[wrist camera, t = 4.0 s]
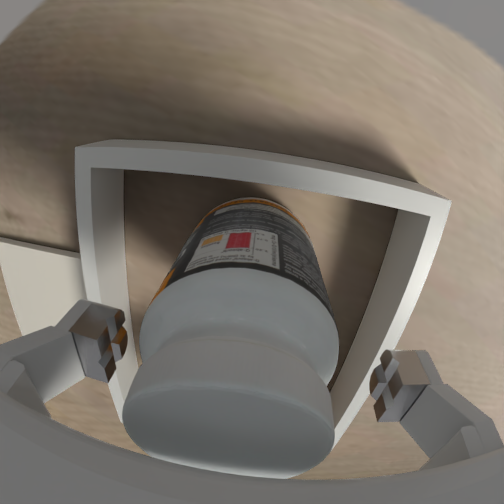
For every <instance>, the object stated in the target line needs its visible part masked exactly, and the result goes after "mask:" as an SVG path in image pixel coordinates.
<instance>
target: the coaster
mask: <svg viewBox="0 0 504 504" xmlns="http://www.w3.org/2000/svg"><path fill="white" fill-rule="evenodd" d="M0 264H1V268H2V272H3V276H4V280H5V284H6V287H7V291H8V294H9V298H10V301H11V304H12V307H13V310H14V313H15V316H16V319H17V322H18V325H19V328H20V330H21V333H22V336H25V335H27V334H30V333H33V332H35V331H38V330H40V329H43V328H46V327H48V326H54V327H55V326H56V325H57V323H58V322H59V321H60V320H61V319H62V318H63V317H64V316H65V314H66V313H67V312H68V311H69V310H70V309H71V308H72V307H73V306H74V305H75V303H76V302H77V301H78V300H80V299H85V300H87V294H86V288H85V282H84V276H83V269H82V262H81V254H80V253H76V252H71V251H66V250H61V249H56V248H51V247H46V246H41V245H36V244H31V243H26V242H21V241H16V240H12V239H7V238H2V237H0Z"/></svg>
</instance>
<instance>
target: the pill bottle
mask: <svg viewBox="0 0 504 504" xmlns="http://www.w3.org/2000/svg"><path fill="white" fill-rule="evenodd" d="M139 346H140V353H141V358H142V362H143V364H142V365H141V366H140V367H139V369H138V371H137V373H136V375H135V377H134V379H133V382H132V384H131V386H130V389H129V392H128V395H127V397H126V400H125V402H124V405H123V411H122V420H123V424H124V427H125V429H126V431H127V433H128V435H129V436H130V438H131V439H132V440H133V441H134V442H135V443H136V444H137V446H139V447H140V448H141V449H142V450H143V451H145V452H146V453H147V454H148V455H150V456H152V457H153V458H157V459H161V460H164V461H168V462H172V463H177V464H181V465H185V466H190V467H195V468H200V469H205V470H211V471H217V472H223V473H230V474H237V475H245V476H254V477H264V478H278V479H286V478H290V477H294V476H297V475H299V474H302V473H304V472H306V471H308V470H310V469H311V468H313V467H315V466H316V465H318V464H319V463H321V462H322V461H323V460H324V459H325V458H326V456H327V455H328V454H329V453H330V451H331V449H332V447H333V445H334V440H335V431H334V420H333V411H332V402H331V395H330V393H329V390H328V388H327V385H328V383H329V382H330V380H331V378H332V376H333V374H334V371H335V369H336V366H337V361H338V354H339V336H338V330H337V326H336V323H335V319H334V315H333V311H332V309H331V305H330V302H329V298H328V295H327V292H326V288H325V285H324V282H323V279H322V275H321V272H320V268H319V264H318V261H317V257H316V255H315V251H314V248H313V244H312V242H311V240H310V237H309V235H308V232H307V231H306V229H305V227H304V225H303V224H302V223H301V221H300V220H299V219H298V218H297V217H296V216H295V215H294V214H293V213H292V212H291V211H289V210H288V209H286V208H285V207H283V206H281V205H280V204H278V203H275V202H273V201H270V200H267V199H261V198H253V197H247V198H238V199H234V200H230V201H228V202H225V203H223V204H221V205H219V206H217V207H215V208H214V209H212V210H211V211H210V212H209V213H208V214H207V215H206V216H205V217H204V218H203V219H202V220H201V221H200V223H199V224H198V225H197V227H196V228H195V229H194V231H193V233H192V234H191V236H190V237H189V239H188V240H187V242H186V243H185V245H184V246H183V248H182V250H181V252H180V254H179V255H178V257H177V259H176V261H175V262H174V264H173V266H172V268H171V269H170V271H169V273H168V275H167V276H166V278H165V279H164V281H163V283H162V284H161V286H160V288H159V290H158V291H157V293H156V295H155V296H154V298H153V300H152V302H151V303H150V305H149V307H148V309H147V311H146V313H145V316H144V318H143V321H142V325H141V329H140V337H139Z"/></svg>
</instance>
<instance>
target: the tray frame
mask: <svg viewBox="0 0 504 504" xmlns="http://www.w3.org/2000/svg"><path fill="white" fill-rule="evenodd" d="M124 169H129V170H143V171H156V172H167V173H178V174H188V175H198V176H207V177H216V178H224V179H232V180H240V181H247V182H254V183H261V184H268V185H275V186H281V187H288V188H294V189H300V190H306V191H312V192H318V193H323V194H329V195H334V196H339V197H345V198H350V199H355V200H360V201H365V202H370V203H374V204H379V205H384V206H388V207H393V208H397V209H398V213H397V216H396V220H395V224H394V227H393V231H392V234H391V237H390V241H389V244H388V247H387V251H386V254H385V257H384V260H383V263H382V266H381V269H380V272H379V275H378V278H377V281H376V284H375V287H374V289H373V292H372V295H371V298H370V300H369V303H368V306H367V308H366V311H365V314H364V316H363V319H362V321H361V324H360V326H359V329H358V331H357V334H356V336H355V339H354V341H353V343H352V346H351V348H350V350H349V353H348V355H347V357H346V359H345V362H344V364H343V366H342V368H341V371H340V373H339V375H338V377H337V379H336V381H335V383H334V385H333V387H332V390H331V392H330V395H331V402H332V411H333V420H334V431H335V440H334V445H333V447H332V449H333V448H334V446H335V445H336V443H337V442H338V441H339V439H340V438H341V436H342V435H343V434H344V432H345V431H346V429H347V428H348V426H349V425H350V423H351V422H352V420H353V419H354V417H355V416H356V414H357V413H358V411H359V410H360V408H361V406H362V405H363V403H364V402H365V400H366V398H367V397H368V395H369V393H370V390H369V382H370V377H371V374H372V372H373V370H374V368H375V367H377V366H378V365H380V364H381V361H380V357H381V355H382V353H383V352H384V351H385V350H386V349H389V350H394V349H395V347H396V345H397V343H398V341H399V339H400V337H401V335H402V332H403V330H404V328H405V326H406V324H407V322H408V320H409V318H410V315H411V313H412V311H413V309H414V306H415V304H416V302H417V300H418V297H419V295H420V292H421V290H422V288H423V285H424V283H425V280H426V278H427V275H428V272H429V270H430V267H431V264H432V262H433V259H434V256H435V253H436V250H437V248H438V245H439V242H440V239H441V236H442V232H443V229H444V226H445V223H446V220H447V216H448V213H449V209H450V206H451V202H452V201H451V200H449V199H447V198H445V197H443V196H442V195H440V194H438V193H436V192H434V191H432V190H431V189H429V188H427V187H425V186H423V185H421V184H419V183H415V182H411V181H408V180H404V179H400V178H396V177H392V176H388V175H384V174H380V173H376V172H372V171H368V170H363V169H359V168H354V167H350V166H345V165H340V164H335V163H330V162H325V161H320V160H315V159H309V158H304V157H298V156H292V155H286V154H279V153H273V152H266V151H259V150H251V149H244V148H235V147H227V146H217V145H207V144H196V143H184V142H169V141H151V140H123V139H110V140H105V141H100V142H95V143H90V144H85V145H81V146H77V147H75V193H76V212H77V225H78V236H79V245H80V254H81V262H82V269H83V276H84V282H85V288H86V294H87V300H89V301H92V302H97V303H100V304H103V305H107V306H111V307H114V308H118V309H121V310H122V311H124V314H125V320H126V321H125V322H124V324H123V325H122V326H123V327H124V328H125V330H126V331H127V335H128V344H127V348H126V352H125V354H124V356H123V358H122V359H121V360H119V361H117V362H115V364H116V370H115V372H114V374H113V376H112V378H111V379H110V381H109V383H108V385H109V389H110V392H111V395H112V398H113V401H114V404H115V407H116V410H117V413H118V415H119V418H120V421H121V422H122V423H123V420H122V411H123V405H124V402H125V400H126V397H127V395H128V392H129V389H130V386H131V384H132V382H133V379H134V377H135V375H136V373H137V371H138V363H137V357H136V351H135V344H134V337H133V330H132V322H131V314H130V305H129V296H128V285H127V273H126V258H125V239H124ZM332 449H331V450H332ZM330 452H331V451H330Z"/></svg>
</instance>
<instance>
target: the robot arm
mask: <svg viewBox="0 0 504 504" xmlns="http://www.w3.org/2000/svg"><path fill="white" fill-rule="evenodd" d="M125 321H126V320H125V314H124V311H122V310H121V309H118V308H114V307H111V306H107V305H103V304H100V303H97V302H92V301H89V300H85V299H80V300H78V301H77V302H76V303H75V305H74V306H73V307H72V308H71V309H70V310H69V311H68V312H67V313H66V314H65V316H64V317H63V318H62V319H61V320H60V321H59V322H58V323H57V325H56V326H55V327H54V326H48V327H46V328H43V329H40V330H38V331H35V332H33V333H30V334H27V335H25V336H22V337H19V338H17V339H14V340H11V341H9V342H6V343H3V344H1V345H0V504H504V445H503V443H502V440H501V438H500V436H499V433H498V431H497V429H496V427H495V425H494V422H493V420H492V419H491V418H489V417H488V416H487V415H486V414H484V413H483V412H482V411H481V410H479V409H478V408H477V407H476V406H474V405H473V404H472V403H471V402H469V401H468V400H467V399H466V398H464V397H463V396H462V395H461V394H459V393H458V392H457V391H455V390H454V389H453V388H452V387H450V386H449V385H448V384H443V382H442V380H441V377H440V375H439V373H438V371H437V369H436V367H435V365H434V363H433V361H432V359H431V357H430V355H429V353H428V352H427V351H425V350H412V351H411V350H389V349H386V350H385V351H384V352H383V353H382V355H381V357H380V361H381V364H380V365H378V366H377V367H375V368H374V370H373V372H372V374H371V377H370V382H369V390H370V394H371V396H372V397H373V398H374V399H375V400H376V402H375V404H374V410H375V414H376V418H377V422H399V421H400V424H401V425H402V426H403V427H404V428H405V430H406V431H407V432H408V433H409V434H410V436H411V437H412V438H413V439H414V440H415V441H416V443H417V444H418V445H419V446H420V447H421V449H422V450H423V451H424V452H425V453H426V454H427V456H428V457H429V458H430V459H429V460H428V461H427V462H426V463H425V464H424V465H423V466H422V467H421V468H420V469H419V471H413V472H407V473H401V474H394V475H386V476H377V477H367V478H354V479H332V480H300V479H278V478H264V477H254V476H245V475H237V474H230V473H223V472H217V471H211V470H205V469H200V468H195V467H190V466H185V465H181V464H177V463H172V462H168V461H164V460H161V459H157V458H153V457H150V456H146V455H143V454H139V453H136V452H133V451H130V450H127V449H124V448H121V447H118V446H115V445H112V444H109V443H107V442H104V441H101V440H99V439H96V438H93V437H91V436H88V435H86V434H84V433H81V432H79V431H77V430H74V429H72V428H70V427H68V426H65V425H63V424H61V423H59V422H57V421H55V420H53V419H51V416H50V413H49V412H48V410H47V408H46V406H45V405H44V403H45V402H47V401H48V400H50V399H52V398H53V397H55V396H56V395H58V394H60V393H61V392H63V391H64V390H66V389H67V388H69V387H71V386H72V385H74V384H75V383H77V382H79V381H80V380H82V379H83V378H85V376H87V377H90V378H93V379H96V380H99V381H103V382H106V383H109V381H110V379H111V378H112V376H113V374H114V372H115V370H116V364H115V362H117V361H119V360H121V359H122V358H123V356H124V354H125V352H126V348H127V344H128V335H127V331H126V330H125V328H124V327H123V326H122V325H123V324H124V322H125Z"/></svg>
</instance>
